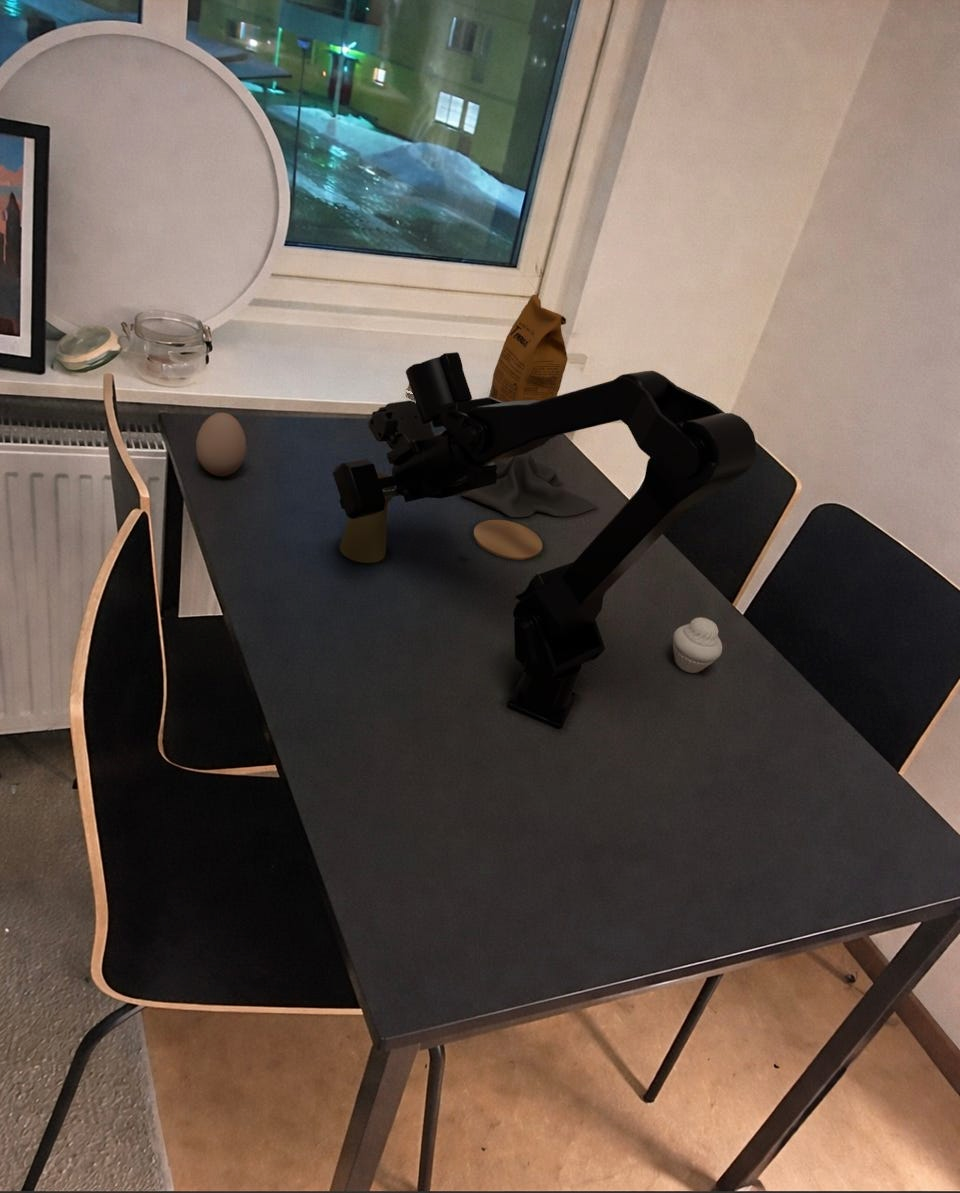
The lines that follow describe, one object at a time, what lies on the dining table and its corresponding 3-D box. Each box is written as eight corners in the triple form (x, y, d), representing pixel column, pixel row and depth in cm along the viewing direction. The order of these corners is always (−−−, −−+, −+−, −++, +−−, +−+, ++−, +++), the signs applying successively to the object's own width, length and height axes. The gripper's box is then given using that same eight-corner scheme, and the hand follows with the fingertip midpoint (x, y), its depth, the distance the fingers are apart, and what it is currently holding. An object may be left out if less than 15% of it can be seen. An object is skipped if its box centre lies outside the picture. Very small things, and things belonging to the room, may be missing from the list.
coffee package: (525, 409, 171) (556, 293, 159) (552, 439, 162) (586, 319, 150) (477, 406, 167) (505, 287, 155) (502, 437, 158) (533, 313, 146)
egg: (194, 461, 128) (197, 401, 123) (242, 464, 130) (247, 405, 125) (195, 484, 123) (198, 422, 118) (245, 487, 125) (250, 426, 120)
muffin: (682, 684, 109) (702, 638, 105) (654, 652, 114) (672, 607, 110) (721, 677, 112) (742, 633, 108) (692, 647, 116) (712, 603, 113)
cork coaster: (529, 568, 124) (530, 565, 124) (462, 542, 126) (463, 540, 125) (550, 538, 132) (550, 536, 132) (487, 514, 134) (488, 512, 134)
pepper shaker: (330, 549, 117) (341, 474, 111) (356, 532, 122) (368, 459, 116) (369, 568, 115) (382, 493, 109) (394, 550, 120) (408, 477, 114)
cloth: (465, 513, 133) (473, 476, 129) (446, 455, 147) (454, 420, 144) (606, 528, 138) (617, 492, 135) (574, 470, 153) (584, 437, 150)
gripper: (481, 384, 108) (409, 427, 120) (354, 400, 96) (287, 447, 108) (510, 472, 108) (435, 507, 120) (387, 500, 96) (317, 536, 108)
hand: (371, 497), depth 114 cm, fingers open, 9 cm apart
